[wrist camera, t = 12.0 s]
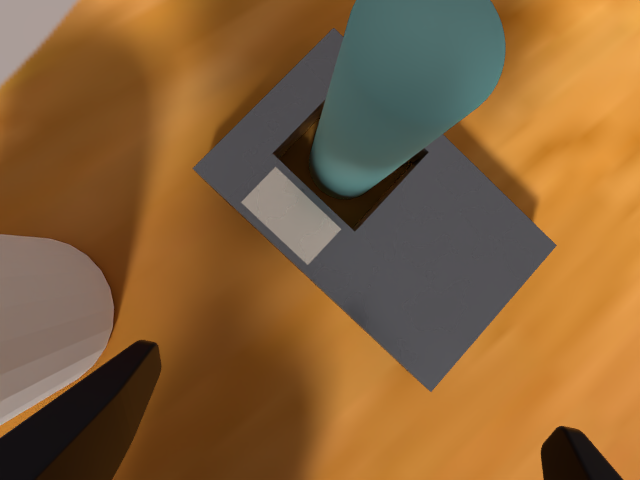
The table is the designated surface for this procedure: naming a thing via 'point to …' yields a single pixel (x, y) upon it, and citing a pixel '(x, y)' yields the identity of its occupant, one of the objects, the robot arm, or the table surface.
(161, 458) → the table surface
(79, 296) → the mug
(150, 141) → the table surface
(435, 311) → the flange plate
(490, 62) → the peg
